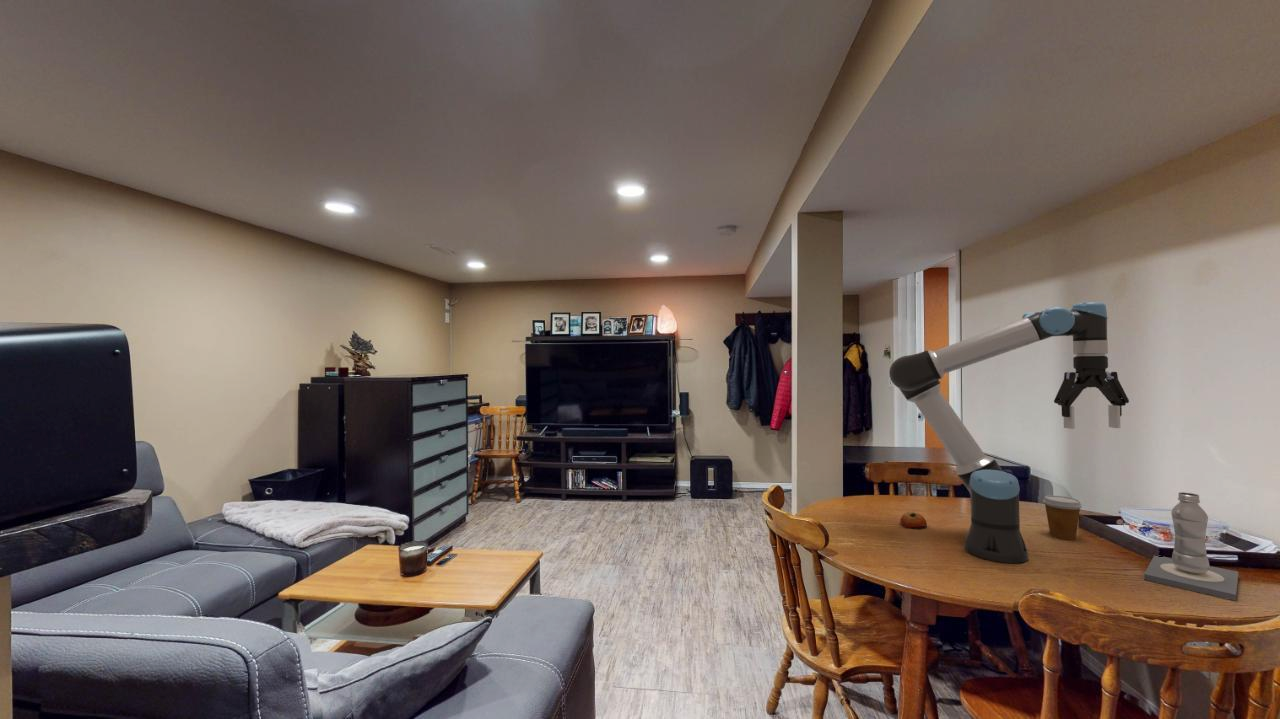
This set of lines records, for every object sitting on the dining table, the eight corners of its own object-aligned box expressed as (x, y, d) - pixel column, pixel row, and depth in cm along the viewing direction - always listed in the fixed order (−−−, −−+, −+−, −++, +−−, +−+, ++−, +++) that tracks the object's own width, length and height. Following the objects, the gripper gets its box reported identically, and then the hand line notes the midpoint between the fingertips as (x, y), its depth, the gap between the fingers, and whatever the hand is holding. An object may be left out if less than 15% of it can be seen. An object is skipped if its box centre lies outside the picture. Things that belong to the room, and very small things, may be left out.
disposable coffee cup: (1091, 541, 154) (1090, 502, 154) (1060, 541, 154) (1059, 503, 154) (1065, 531, 163) (1064, 495, 164) (1036, 531, 164) (1035, 495, 164)
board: (1235, 601, 115) (1235, 593, 115) (1144, 579, 127) (1144, 573, 127) (1238, 577, 127) (1238, 571, 127) (1154, 560, 139) (1154, 554, 139)
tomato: (893, 521, 171) (903, 504, 173) (899, 530, 175) (908, 513, 177) (917, 531, 165) (926, 513, 167) (922, 540, 168) (932, 523, 170)
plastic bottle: (1199, 569, 129) (1197, 492, 129) (1216, 579, 123) (1214, 498, 123) (1166, 565, 131) (1164, 489, 132) (1181, 574, 125) (1179, 496, 126)
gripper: (1118, 355, 149) (1120, 425, 148) (1037, 356, 148) (1039, 427, 148) (1145, 354, 141) (1146, 429, 141) (1059, 355, 140) (1061, 430, 140)
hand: (1091, 428), depth 144 cm, fingers open, 13 cm apart
